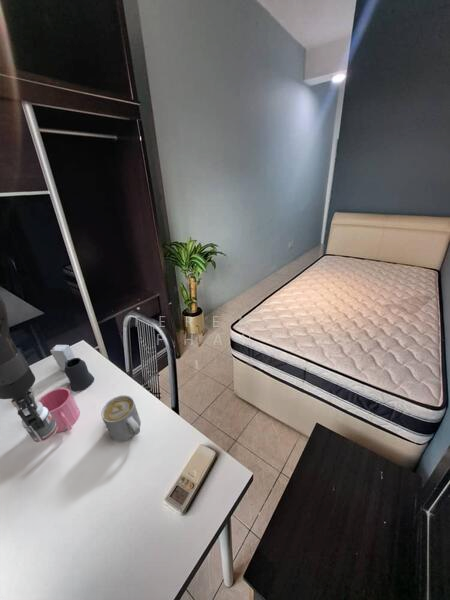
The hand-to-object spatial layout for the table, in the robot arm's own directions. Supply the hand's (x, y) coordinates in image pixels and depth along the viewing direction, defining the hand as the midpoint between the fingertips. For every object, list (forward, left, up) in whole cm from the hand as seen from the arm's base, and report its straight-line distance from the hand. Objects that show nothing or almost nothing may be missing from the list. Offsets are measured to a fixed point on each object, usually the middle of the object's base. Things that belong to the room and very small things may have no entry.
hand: (37, 419), depth 64 cm
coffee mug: (+17, +6, -21) cm, 28 cm away
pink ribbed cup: (-5, +16, -21) cm, 26 cm away
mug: (-5, +35, -21) cm, 41 cm away
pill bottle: (0, 0, -6) cm, 6 cm away
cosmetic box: (-12, +45, -21) cm, 51 cm away
